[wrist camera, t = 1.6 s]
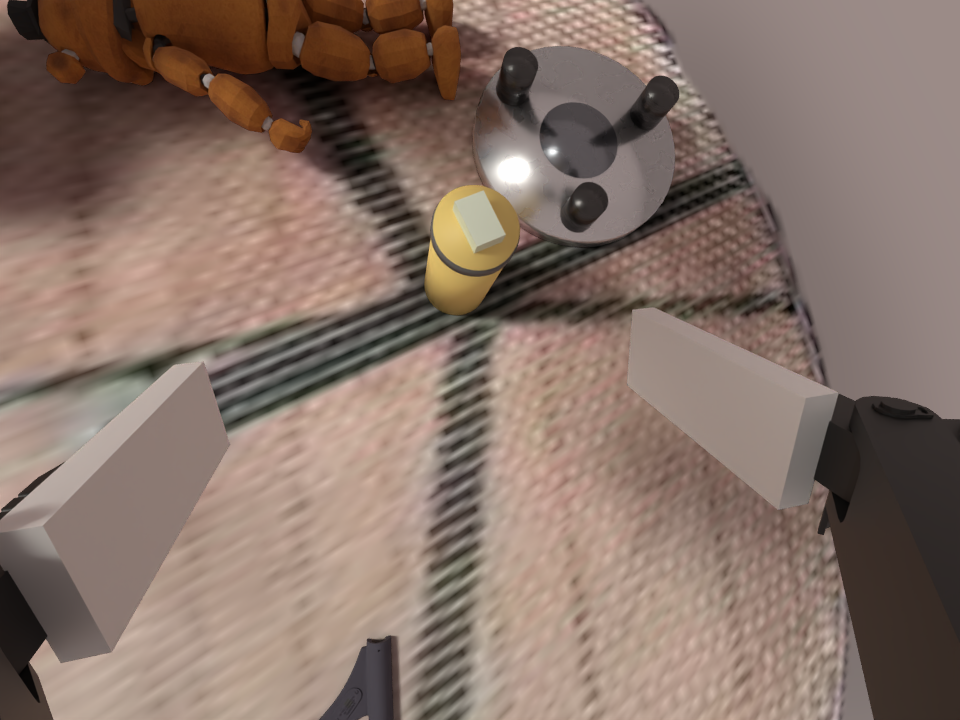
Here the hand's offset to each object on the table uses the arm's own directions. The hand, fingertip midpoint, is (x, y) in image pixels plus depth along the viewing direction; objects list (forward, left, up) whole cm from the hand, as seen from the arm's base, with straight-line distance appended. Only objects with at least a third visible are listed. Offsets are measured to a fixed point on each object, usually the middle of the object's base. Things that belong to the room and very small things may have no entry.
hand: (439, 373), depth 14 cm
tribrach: (-14, +22, -21) cm, 33 cm away
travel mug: (-7, +7, -21) cm, 23 cm away
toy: (-30, +1, -21) cm, 37 cm away
